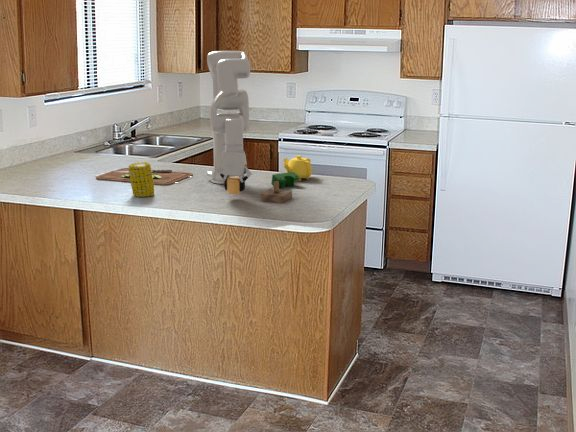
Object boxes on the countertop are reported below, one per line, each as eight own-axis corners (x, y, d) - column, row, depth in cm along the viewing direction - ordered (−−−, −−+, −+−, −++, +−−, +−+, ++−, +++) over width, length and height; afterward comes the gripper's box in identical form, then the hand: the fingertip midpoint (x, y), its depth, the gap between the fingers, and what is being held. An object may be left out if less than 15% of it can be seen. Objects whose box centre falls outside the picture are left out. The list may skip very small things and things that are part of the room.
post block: (260, 200, 315) (260, 183, 313) (270, 195, 324) (270, 178, 322) (283, 203, 312) (283, 185, 310) (291, 197, 321) (291, 180, 319)
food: (156, 200, 323) (132, 202, 320) (153, 188, 333) (129, 191, 330) (153, 167, 315) (129, 170, 313) (150, 156, 325) (126, 159, 323)
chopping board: (88, 180, 357) (88, 173, 357) (120, 169, 382) (119, 163, 381) (172, 187, 342) (172, 180, 341) (199, 176, 366) (199, 170, 366)
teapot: (283, 175, 365) (283, 152, 362) (311, 175, 365) (311, 153, 362) (283, 182, 351) (283, 158, 348) (312, 182, 351) (312, 158, 348)
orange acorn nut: (225, 193, 316) (224, 179, 314) (231, 190, 321) (231, 176, 319) (238, 194, 313) (237, 180, 312) (244, 191, 319) (244, 177, 317)
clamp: (280, 197, 340) (276, 181, 334) (273, 192, 344) (269, 176, 339) (302, 185, 344) (298, 169, 338) (295, 180, 348) (291, 164, 342)
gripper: (211, 147, 311) (212, 190, 317) (249, 151, 305) (249, 194, 311) (219, 144, 318) (220, 186, 323) (256, 147, 312) (257, 190, 317)
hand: (234, 189), depth 317 cm, fingers closed on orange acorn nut, 6 cm apart
